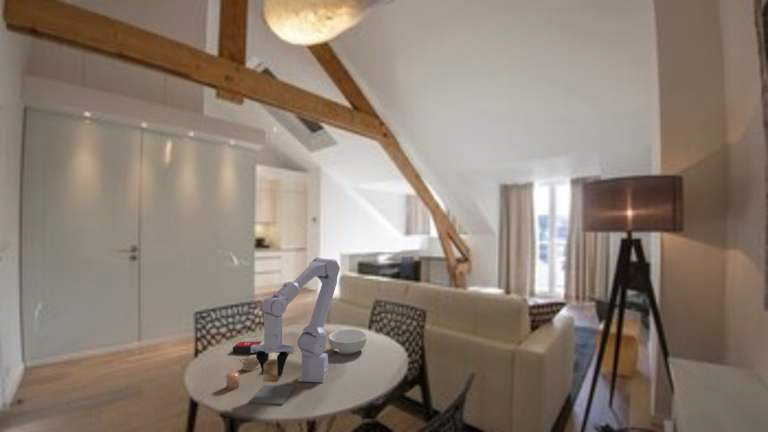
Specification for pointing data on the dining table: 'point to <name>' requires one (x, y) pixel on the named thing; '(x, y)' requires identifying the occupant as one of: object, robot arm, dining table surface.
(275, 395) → the slate mat
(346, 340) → the cereal bowl
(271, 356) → the sage block
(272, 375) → the oak block
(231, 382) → the terracotta cylinder
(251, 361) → the cream ribbed piece
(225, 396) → the dining table surface
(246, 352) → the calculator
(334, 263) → the robot arm
